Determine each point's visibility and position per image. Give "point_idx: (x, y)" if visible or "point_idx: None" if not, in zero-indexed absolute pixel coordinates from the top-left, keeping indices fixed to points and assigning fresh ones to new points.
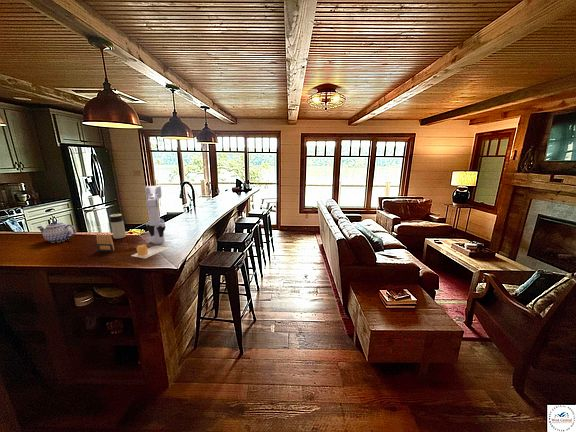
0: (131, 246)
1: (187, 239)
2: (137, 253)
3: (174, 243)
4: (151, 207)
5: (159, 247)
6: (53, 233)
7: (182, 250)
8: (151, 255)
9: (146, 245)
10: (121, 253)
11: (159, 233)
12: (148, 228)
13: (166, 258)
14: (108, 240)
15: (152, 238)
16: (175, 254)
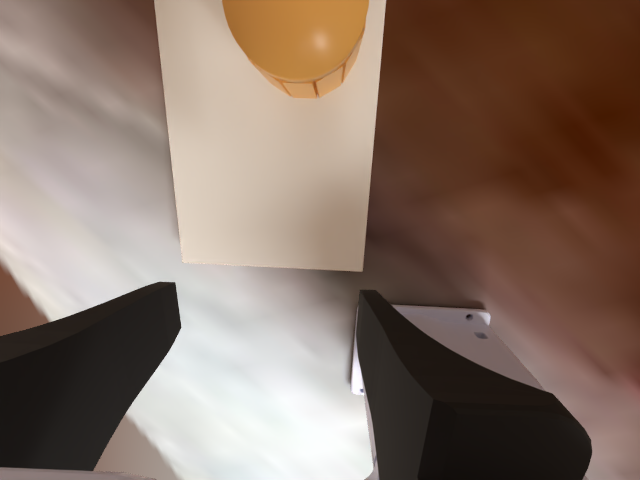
0: (635, 218)
1: (242, 465)
2: (369, 18)
3: (272, 379)
4: None
5: (276, 241)
6: None
7: (72, 275)
8: (162, 26)
9: (250, 54)
10: (609, 18)
11: (93, 308)
12: (415, 378)
13: (28, 74)
14: None
15: (470, 358)
16: (43, 183)
